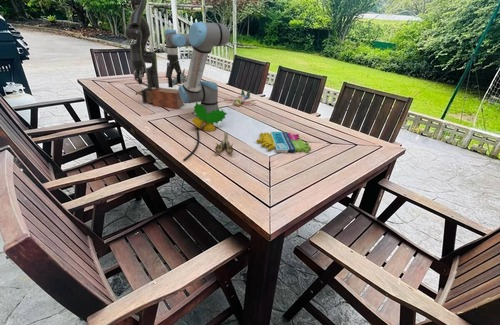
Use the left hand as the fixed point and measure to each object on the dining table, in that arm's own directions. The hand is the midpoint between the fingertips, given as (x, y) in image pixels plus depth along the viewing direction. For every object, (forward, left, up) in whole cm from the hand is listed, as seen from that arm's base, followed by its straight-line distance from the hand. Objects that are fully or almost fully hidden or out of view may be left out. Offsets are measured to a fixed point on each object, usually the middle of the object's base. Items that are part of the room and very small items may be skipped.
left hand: (140, 84), depth 196 cm
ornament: (+70, +23, -14) cm, 75 cm away
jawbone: (+102, +17, -14) cm, 104 cm away
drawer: (+6, +6, -13) cm, 16 cm away
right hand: (+20, +20, +2) cm, 28 cm away
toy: (+26, +74, -14) cm, 79 cm away
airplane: (-55, +49, -14) cm, 75 cm away
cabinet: (+15, +15, -14) cm, 25 cm away
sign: (+107, +52, -14) cm, 120 cm away
